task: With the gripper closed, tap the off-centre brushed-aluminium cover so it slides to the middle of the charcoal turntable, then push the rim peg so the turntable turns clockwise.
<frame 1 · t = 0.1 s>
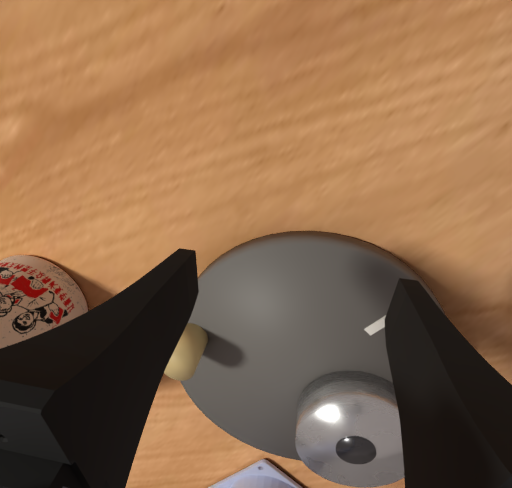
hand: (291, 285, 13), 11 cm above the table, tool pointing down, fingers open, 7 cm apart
cover: (352, 411, 26), point 2 cm above the table, touching turntable
teacup with lid: (28, 289, 30), on the table
turntable: (304, 376, 25), point 3 cm above the table, hinge at 0.0°, touching cover
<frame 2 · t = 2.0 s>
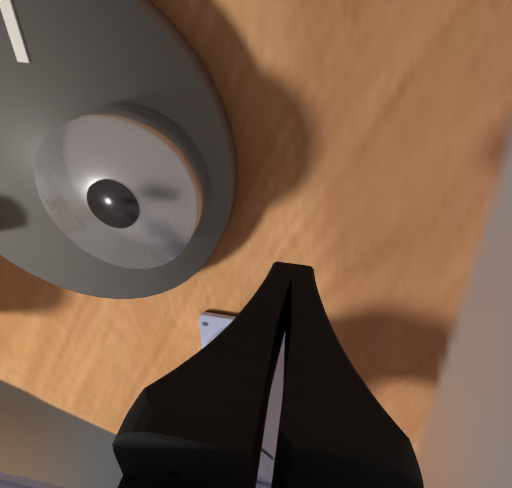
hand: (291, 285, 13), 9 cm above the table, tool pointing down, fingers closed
cover: (141, 178, 19), point 2 cm above the table, touching turntable
turntable: (52, 172, 20), point 3 cm above the table, hinge at 0.0°, touching cover
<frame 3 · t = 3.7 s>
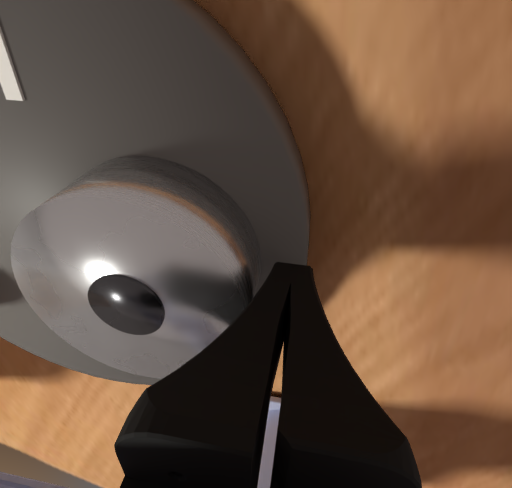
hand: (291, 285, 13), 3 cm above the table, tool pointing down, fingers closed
cover: (162, 251, 14), point 2 cm above the table, touching gripper
turntable: (57, 245, 14), point 3 cm above the table, hinge at 0.0°
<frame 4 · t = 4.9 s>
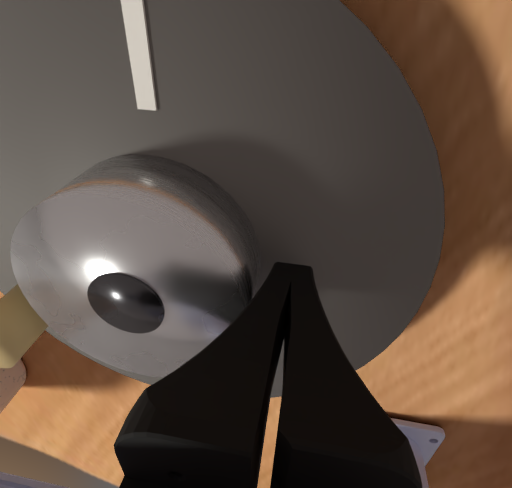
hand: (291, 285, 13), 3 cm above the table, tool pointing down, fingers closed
cover: (162, 250, 14), point 2 cm above the table, touching gripper, turntable
turntable: (163, 259, 14), point 3 cm above the table, hinge at 0.0°, touching cover
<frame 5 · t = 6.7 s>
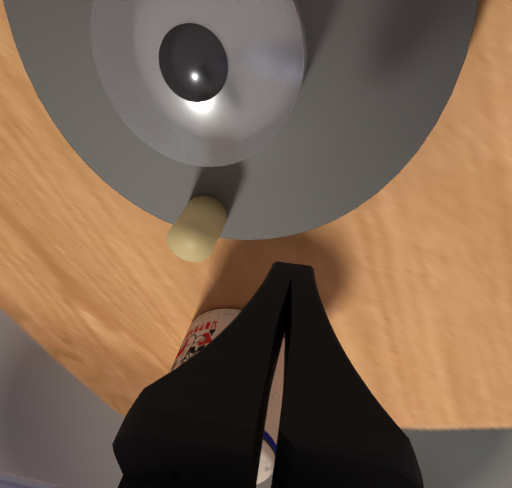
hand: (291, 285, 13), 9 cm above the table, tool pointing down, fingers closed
cover: (215, 53, 15), point 2 cm above the table, touching turntable
teacup with lid: (233, 349, 31), on the table
turntable: (216, 49, 15), point 3 cm above the table, hinge at 0.0°, touching cover
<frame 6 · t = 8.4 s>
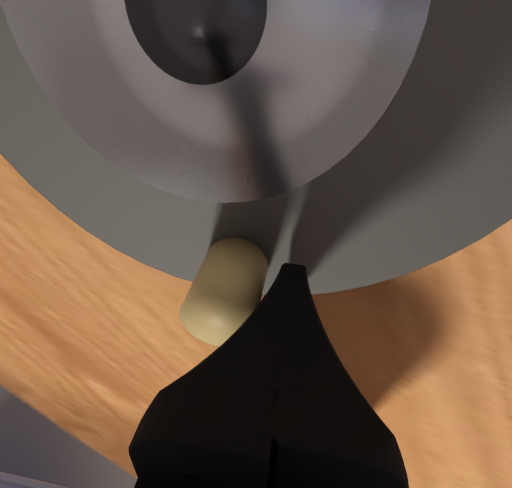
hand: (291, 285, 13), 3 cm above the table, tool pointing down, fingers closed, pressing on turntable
cover: (233, 3, 9), point 2 cm above the table, touching turntable
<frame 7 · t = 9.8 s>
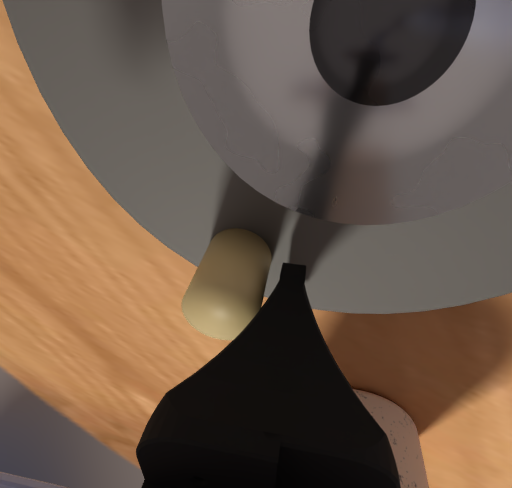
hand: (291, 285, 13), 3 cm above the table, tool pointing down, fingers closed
cover: (370, 16, 8), point 2 cm above the table, touching turntable
teacup with lid: (334, 432, 23), on the table
turntable: (384, 9, 8), point 3 cm above the table, hinge at -23.4°, touching cover, gripper
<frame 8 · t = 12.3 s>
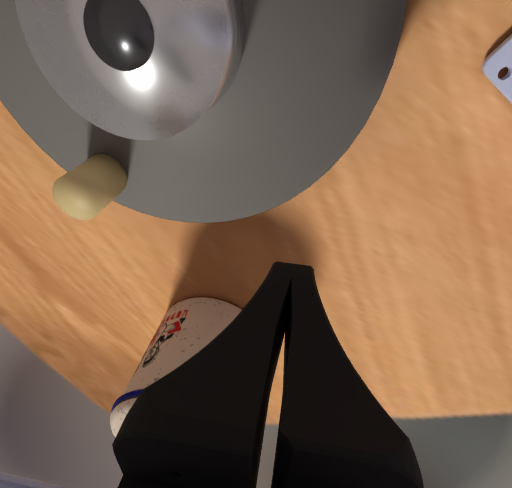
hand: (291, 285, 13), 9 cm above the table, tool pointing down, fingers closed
cover: (153, 25, 15), point 2 cm above the table, touching turntable
teacup with lid: (210, 340, 31), on the table
turntable: (153, 22, 15), point 3 cm above the table, hinge at -23.4°, touching cover
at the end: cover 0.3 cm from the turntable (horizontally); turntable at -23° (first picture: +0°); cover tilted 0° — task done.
